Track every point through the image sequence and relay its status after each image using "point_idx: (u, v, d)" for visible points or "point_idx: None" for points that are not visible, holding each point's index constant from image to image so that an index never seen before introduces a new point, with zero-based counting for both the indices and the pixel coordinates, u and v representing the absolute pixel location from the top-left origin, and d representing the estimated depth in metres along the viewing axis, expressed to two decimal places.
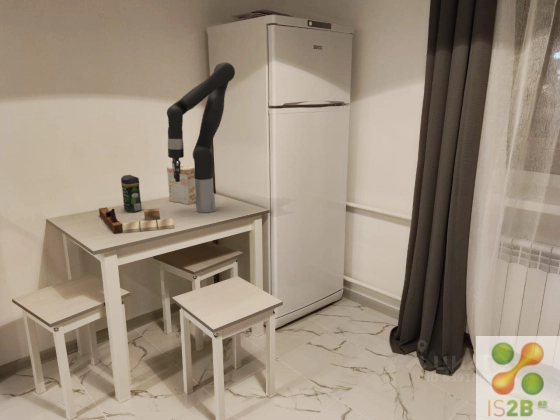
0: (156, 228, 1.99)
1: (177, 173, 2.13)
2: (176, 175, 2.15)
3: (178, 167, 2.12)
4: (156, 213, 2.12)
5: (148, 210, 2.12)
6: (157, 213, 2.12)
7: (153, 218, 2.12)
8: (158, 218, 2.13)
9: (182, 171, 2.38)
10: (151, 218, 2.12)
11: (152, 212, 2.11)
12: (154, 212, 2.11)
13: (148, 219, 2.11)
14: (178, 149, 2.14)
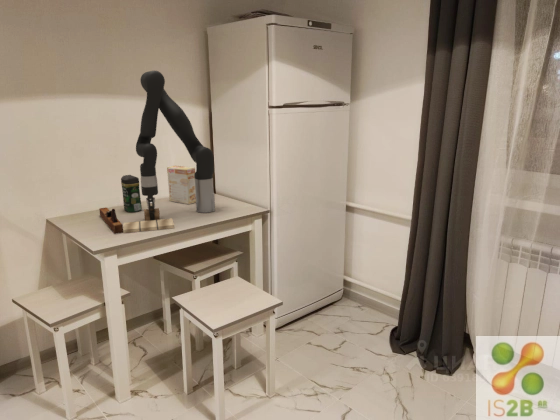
0: (156, 228, 1.99)
1: (151, 212, 2.08)
2: (150, 214, 2.10)
3: (152, 207, 2.07)
4: (156, 213, 2.12)
5: (148, 210, 2.12)
6: (157, 213, 2.12)
7: None
8: (158, 218, 2.13)
9: (182, 171, 2.38)
10: None
11: None
12: None
13: (148, 219, 2.11)
14: (152, 187, 2.07)
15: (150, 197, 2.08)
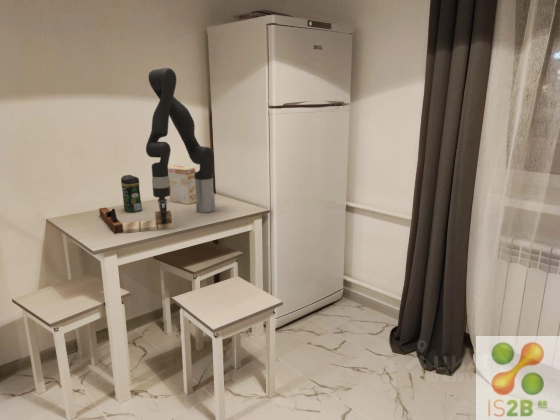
0: (156, 228, 1.99)
1: (163, 215, 1.99)
2: (162, 217, 2.00)
3: (164, 209, 1.97)
4: (168, 215, 2.02)
5: (159, 212, 2.02)
6: (169, 215, 2.02)
7: None
8: (170, 220, 2.03)
9: (182, 171, 2.38)
10: None
11: None
12: None
13: (159, 221, 2.02)
14: (164, 188, 1.97)
15: (162, 199, 1.98)
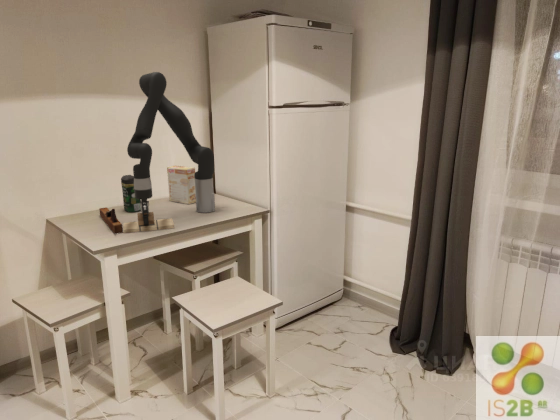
0: (156, 228, 1.99)
1: (145, 217, 1.96)
2: (144, 219, 1.98)
3: (146, 211, 1.95)
4: (150, 217, 2.00)
5: (142, 214, 2.00)
6: (151, 217, 2.00)
7: None
8: (152, 222, 2.01)
9: (182, 171, 2.38)
10: None
11: None
12: None
13: (142, 223, 1.99)
14: (145, 190, 1.95)
15: (144, 201, 1.96)
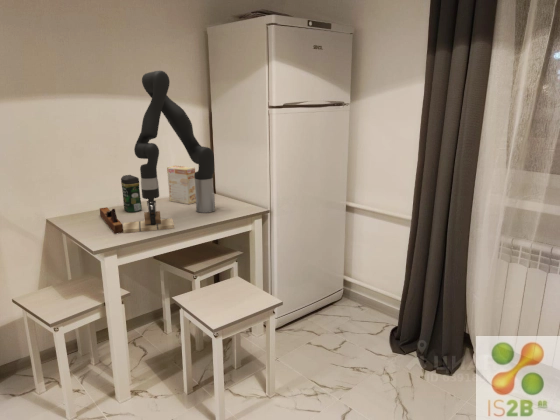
0: (156, 228, 1.99)
1: (152, 216, 1.98)
2: (151, 218, 1.99)
3: (153, 211, 1.96)
4: (157, 216, 2.01)
5: (148, 213, 2.01)
6: (158, 216, 2.01)
7: None
8: (159, 221, 2.02)
9: (182, 171, 2.38)
10: None
11: None
12: None
13: (148, 222, 2.01)
14: (152, 190, 1.96)
15: (151, 200, 1.97)
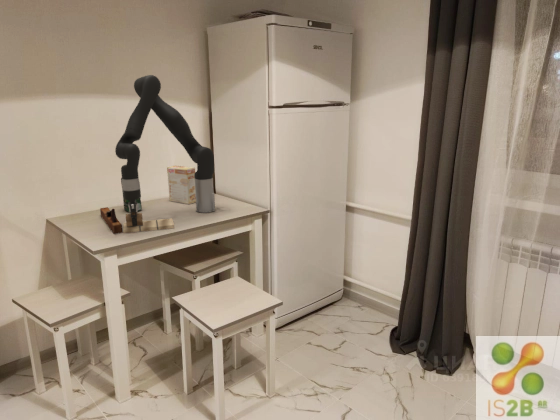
0: (156, 228, 1.99)
1: (133, 217, 1.93)
2: (132, 219, 1.95)
3: (134, 210, 1.92)
4: (139, 218, 1.99)
5: (130, 215, 1.99)
6: (140, 218, 1.99)
7: None
8: (141, 223, 1.99)
9: (182, 171, 2.38)
10: None
11: None
12: None
13: (130, 224, 1.98)
14: (134, 191, 1.93)
15: (132, 201, 1.94)
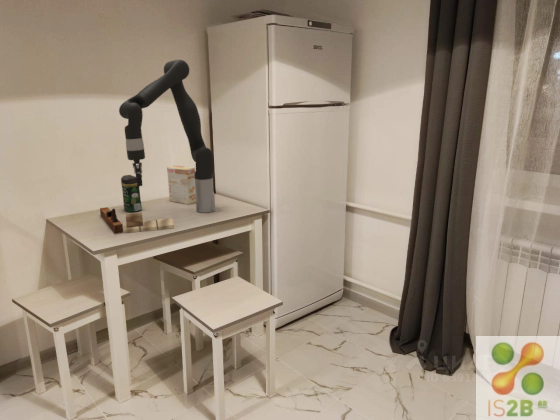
0: (156, 228, 1.99)
1: (138, 176, 1.93)
2: (138, 179, 1.95)
3: (139, 170, 1.93)
4: (139, 218, 1.99)
5: (130, 215, 1.99)
6: (140, 218, 1.99)
7: (135, 223, 1.99)
8: (141, 223, 1.99)
9: (182, 171, 2.38)
10: (133, 223, 1.98)
11: (134, 217, 1.98)
12: (136, 217, 1.98)
13: (130, 224, 1.98)
14: (138, 150, 1.94)
15: (136, 161, 1.95)
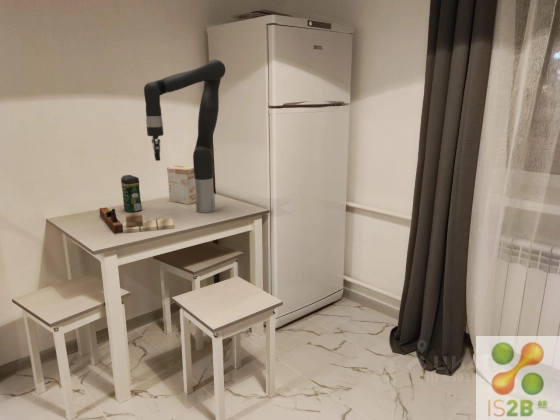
0: (156, 228, 1.99)
1: (157, 151, 2.08)
2: (156, 154, 2.09)
3: (157, 145, 2.07)
4: (139, 218, 1.99)
5: (130, 215, 1.99)
6: (140, 218, 1.99)
7: (135, 223, 1.99)
8: (141, 223, 1.99)
9: (182, 171, 2.38)
10: (133, 223, 1.98)
11: (134, 217, 1.98)
12: (136, 217, 1.98)
13: (130, 224, 1.98)
14: (157, 127, 2.08)
15: (155, 137, 2.09)
